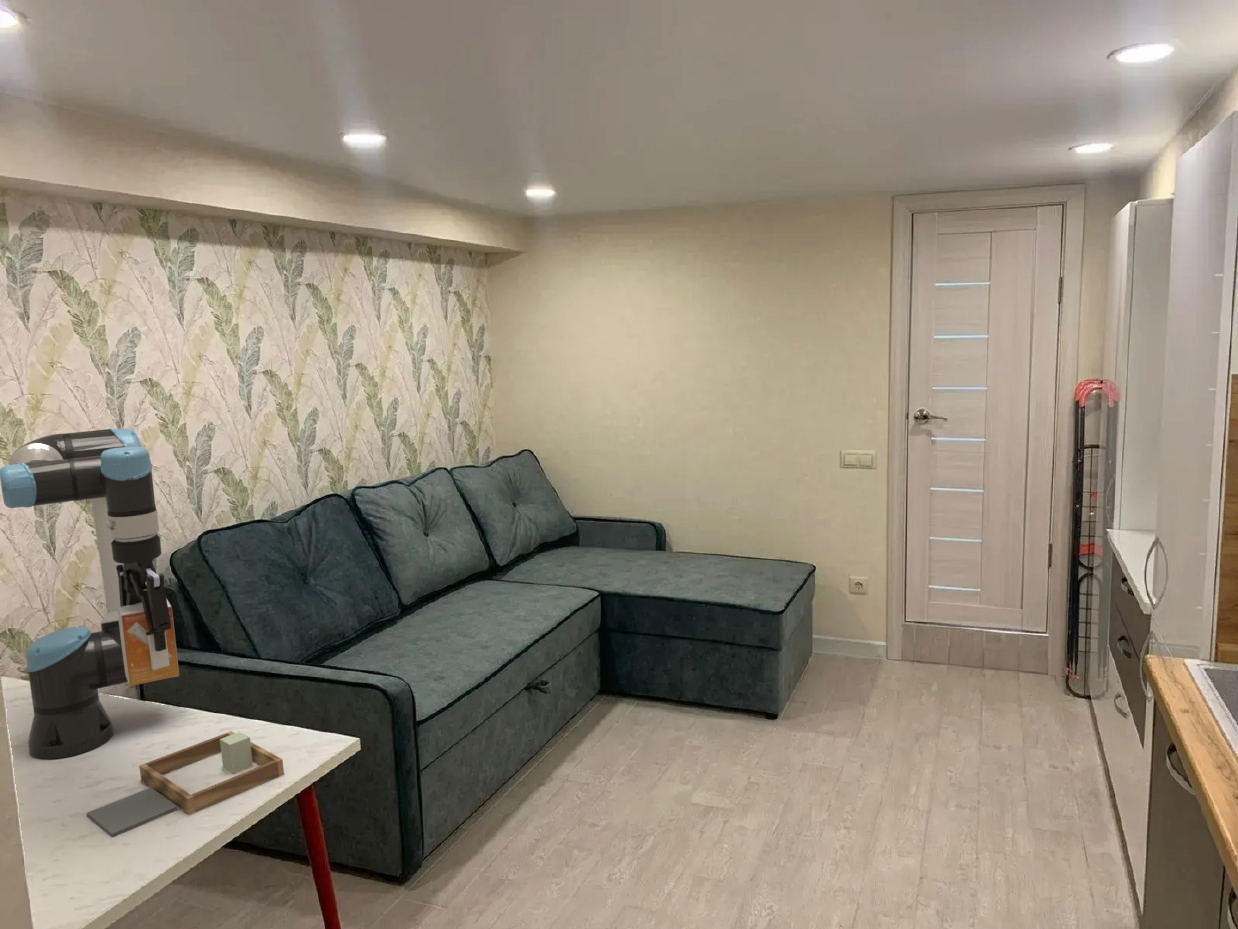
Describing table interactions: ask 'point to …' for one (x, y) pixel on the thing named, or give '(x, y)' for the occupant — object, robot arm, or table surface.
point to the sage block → (236, 752)
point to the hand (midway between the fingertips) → (150, 662)
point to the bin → (217, 792)
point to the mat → (131, 811)
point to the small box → (143, 646)
